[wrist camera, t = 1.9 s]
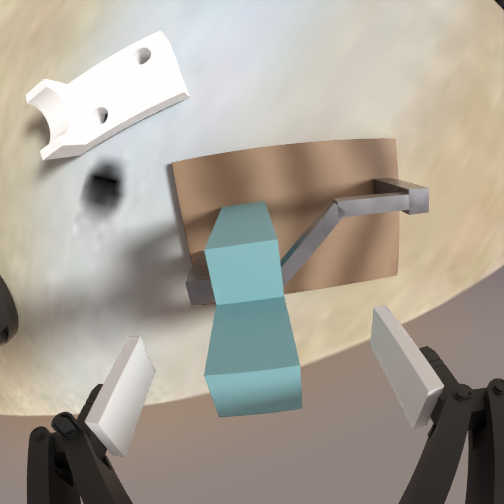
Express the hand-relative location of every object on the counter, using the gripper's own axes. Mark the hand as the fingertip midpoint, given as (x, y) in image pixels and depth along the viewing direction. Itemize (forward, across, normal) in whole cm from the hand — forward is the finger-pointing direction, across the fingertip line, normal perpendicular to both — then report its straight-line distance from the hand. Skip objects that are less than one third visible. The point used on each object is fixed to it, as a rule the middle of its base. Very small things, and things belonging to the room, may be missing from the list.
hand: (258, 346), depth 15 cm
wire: (+15, +5, +3) cm, 16 cm away
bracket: (+16, -11, +18) cm, 26 cm away
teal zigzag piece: (+14, 0, 0) cm, 14 cm away
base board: (+15, +5, +3) cm, 16 cm away
